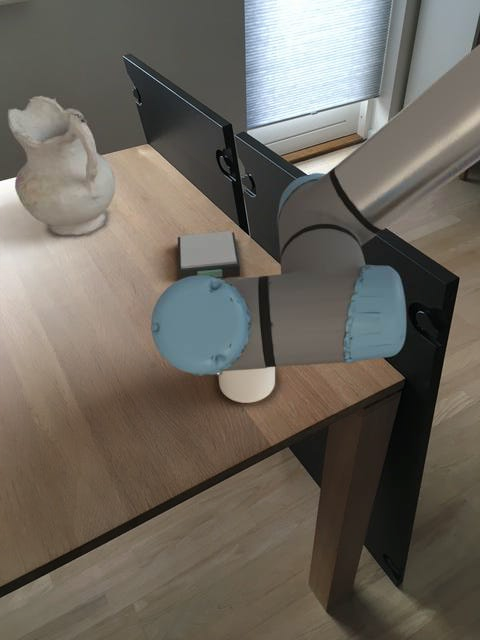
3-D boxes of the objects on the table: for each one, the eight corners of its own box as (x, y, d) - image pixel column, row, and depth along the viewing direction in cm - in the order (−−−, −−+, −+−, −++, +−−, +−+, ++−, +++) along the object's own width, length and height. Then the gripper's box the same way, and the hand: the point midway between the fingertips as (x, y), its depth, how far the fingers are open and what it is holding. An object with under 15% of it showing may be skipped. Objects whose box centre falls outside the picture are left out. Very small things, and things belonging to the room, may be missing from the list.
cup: (282, 395, 77) (284, 311, 66) (226, 408, 75) (219, 324, 65) (265, 356, 83) (264, 272, 72) (213, 367, 81) (204, 284, 71)
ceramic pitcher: (148, 216, 117) (133, 97, 102) (92, 259, 103) (64, 128, 88) (70, 198, 125) (45, 84, 109) (8, 235, 111) (-31, 111, 96)
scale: (234, 242, 106) (234, 229, 104) (240, 277, 98) (239, 264, 96) (179, 247, 106) (177, 234, 104) (180, 283, 97) (178, 269, 95)
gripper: (102, 359, 56) (157, 356, 77) (347, 376, 53) (334, 368, 74) (108, 287, 56) (161, 304, 77) (351, 300, 53) (337, 313, 74)
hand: (246, 335), depth 75 cm, fingers open, 13 cm apart
